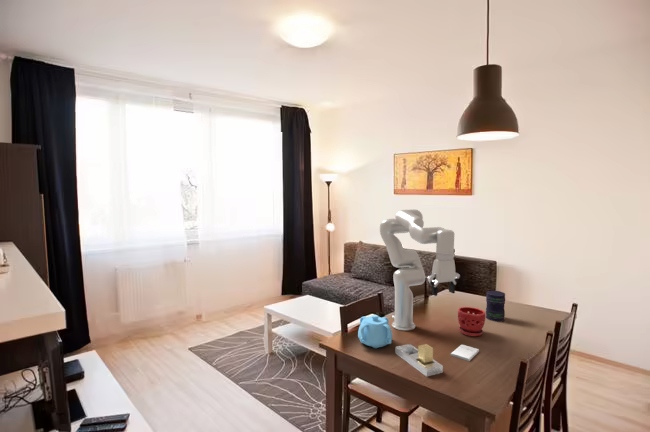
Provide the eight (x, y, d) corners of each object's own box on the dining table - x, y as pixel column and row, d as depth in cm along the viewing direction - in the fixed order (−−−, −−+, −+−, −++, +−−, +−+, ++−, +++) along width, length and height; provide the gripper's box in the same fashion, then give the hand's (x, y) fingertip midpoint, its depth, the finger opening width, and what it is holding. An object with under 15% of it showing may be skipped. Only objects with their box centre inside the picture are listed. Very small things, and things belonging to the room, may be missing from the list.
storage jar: (507, 321, 200) (508, 295, 199) (490, 321, 200) (491, 295, 199) (499, 315, 210) (500, 290, 209) (482, 315, 210) (483, 290, 209)
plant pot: (487, 339, 177) (488, 315, 176) (459, 336, 180) (460, 313, 179) (481, 328, 190) (482, 306, 189) (455, 327, 193) (456, 305, 192)
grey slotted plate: (395, 353, 162) (395, 346, 162) (409, 350, 165) (410, 343, 165) (426, 376, 142) (426, 369, 142) (442, 372, 145) (442, 365, 145)
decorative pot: (356, 349, 167) (356, 320, 166) (359, 335, 183) (359, 309, 182) (391, 352, 164) (391, 323, 163) (392, 337, 179) (392, 311, 178)
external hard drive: (450, 356, 160) (461, 347, 169) (469, 362, 155) (479, 352, 164) (450, 353, 160) (461, 343, 169) (469, 358, 155) (479, 348, 164)
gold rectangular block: (418, 366, 151) (418, 345, 150) (426, 364, 152) (426, 344, 151) (424, 371, 147) (424, 349, 146) (432, 369, 148) (433, 348, 148)
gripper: (454, 254, 168) (452, 289, 170) (423, 256, 162) (422, 293, 164) (465, 257, 161) (464, 294, 163) (434, 260, 155) (432, 298, 157)
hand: (443, 293), depth 163 cm, fingers open, 9 cm apart
